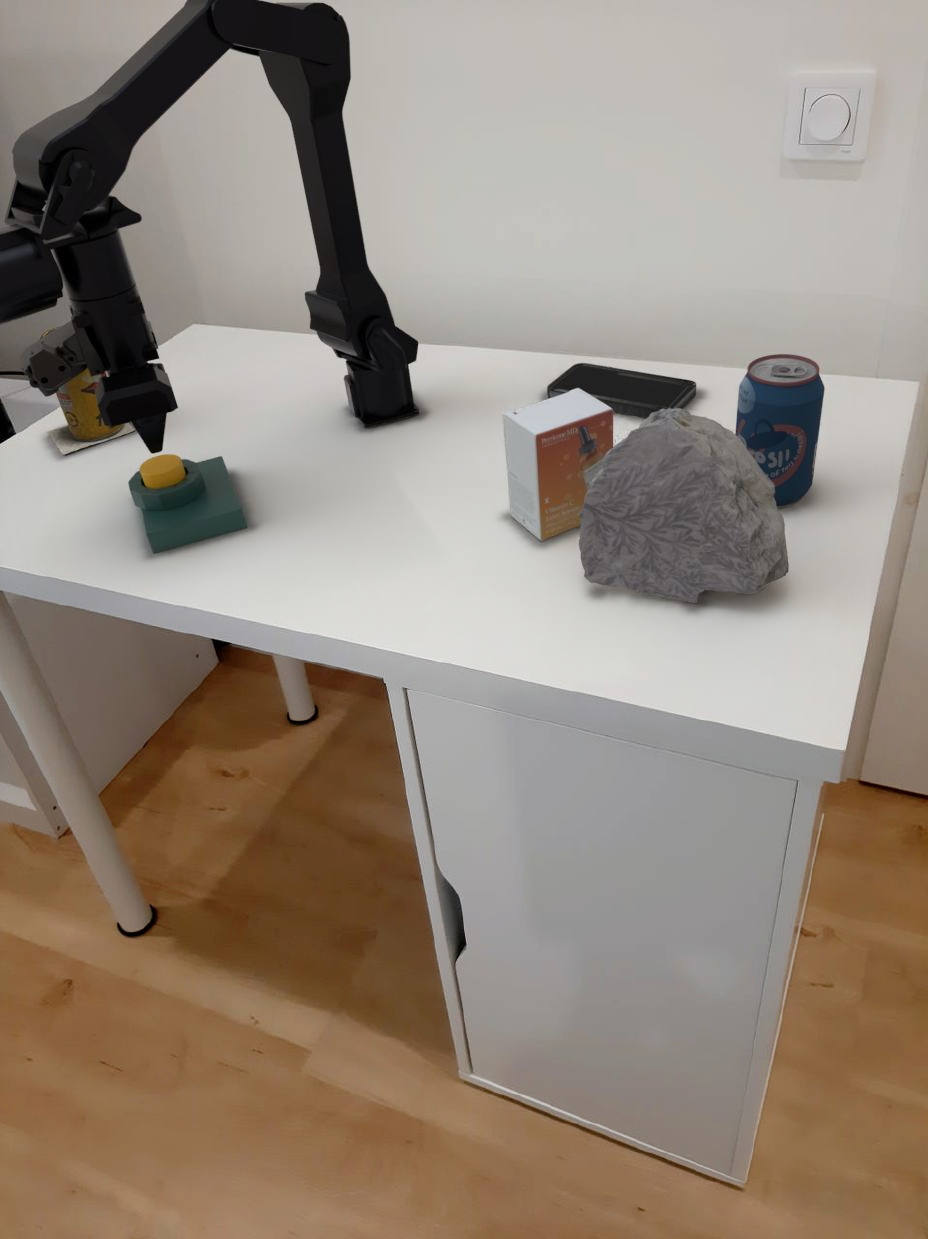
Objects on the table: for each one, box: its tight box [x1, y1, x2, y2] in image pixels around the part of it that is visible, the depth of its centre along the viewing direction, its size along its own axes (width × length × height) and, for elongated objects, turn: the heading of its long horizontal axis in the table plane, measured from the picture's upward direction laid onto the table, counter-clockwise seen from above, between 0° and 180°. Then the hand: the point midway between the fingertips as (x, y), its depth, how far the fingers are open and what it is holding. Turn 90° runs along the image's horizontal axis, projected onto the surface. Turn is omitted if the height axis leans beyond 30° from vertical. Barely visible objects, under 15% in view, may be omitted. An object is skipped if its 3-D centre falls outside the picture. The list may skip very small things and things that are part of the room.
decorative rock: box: [578, 408, 790, 604], centre depth 75 cm, size 16×7×15 cm, turn 68°
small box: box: [502, 388, 614, 541], centre depth 86 cm, size 8×6×10 cm
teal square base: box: [127, 455, 248, 555], centre depth 95 cm, size 10×12×4 cm
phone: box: [546, 362, 697, 419], centre depth 107 cm, size 8×1×15 cm
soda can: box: [734, 353, 825, 509], centre depth 85 cm, size 7×7×12 cm
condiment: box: [39, 326, 136, 456], centre depth 110 cm, size 7×8×12 cm
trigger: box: [139, 453, 186, 489], centre depth 94 cm, size 4×4×2 cm
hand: (156, 451), depth 93 cm, fingers closed
